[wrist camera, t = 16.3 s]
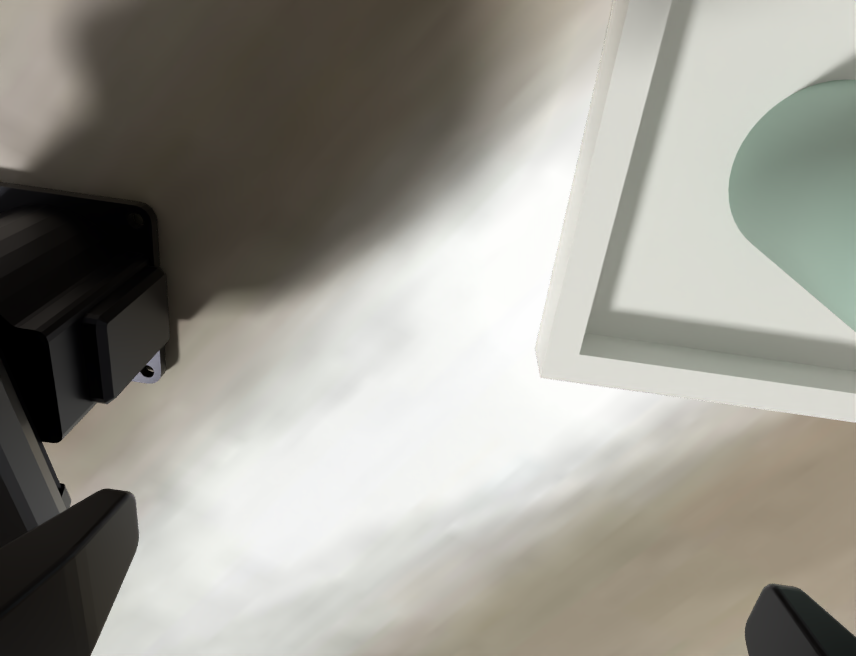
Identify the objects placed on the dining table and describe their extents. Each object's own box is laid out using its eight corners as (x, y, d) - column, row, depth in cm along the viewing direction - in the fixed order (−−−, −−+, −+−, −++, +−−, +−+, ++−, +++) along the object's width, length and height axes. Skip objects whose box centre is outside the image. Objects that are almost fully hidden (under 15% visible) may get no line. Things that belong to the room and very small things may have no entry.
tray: (534, 347, 22) (540, 377, 20) (647, -150, 16) (669, -170, 14) (941, 405, 22) (982, 440, 20) (1212, -70, 16) (1304, -80, 14)
